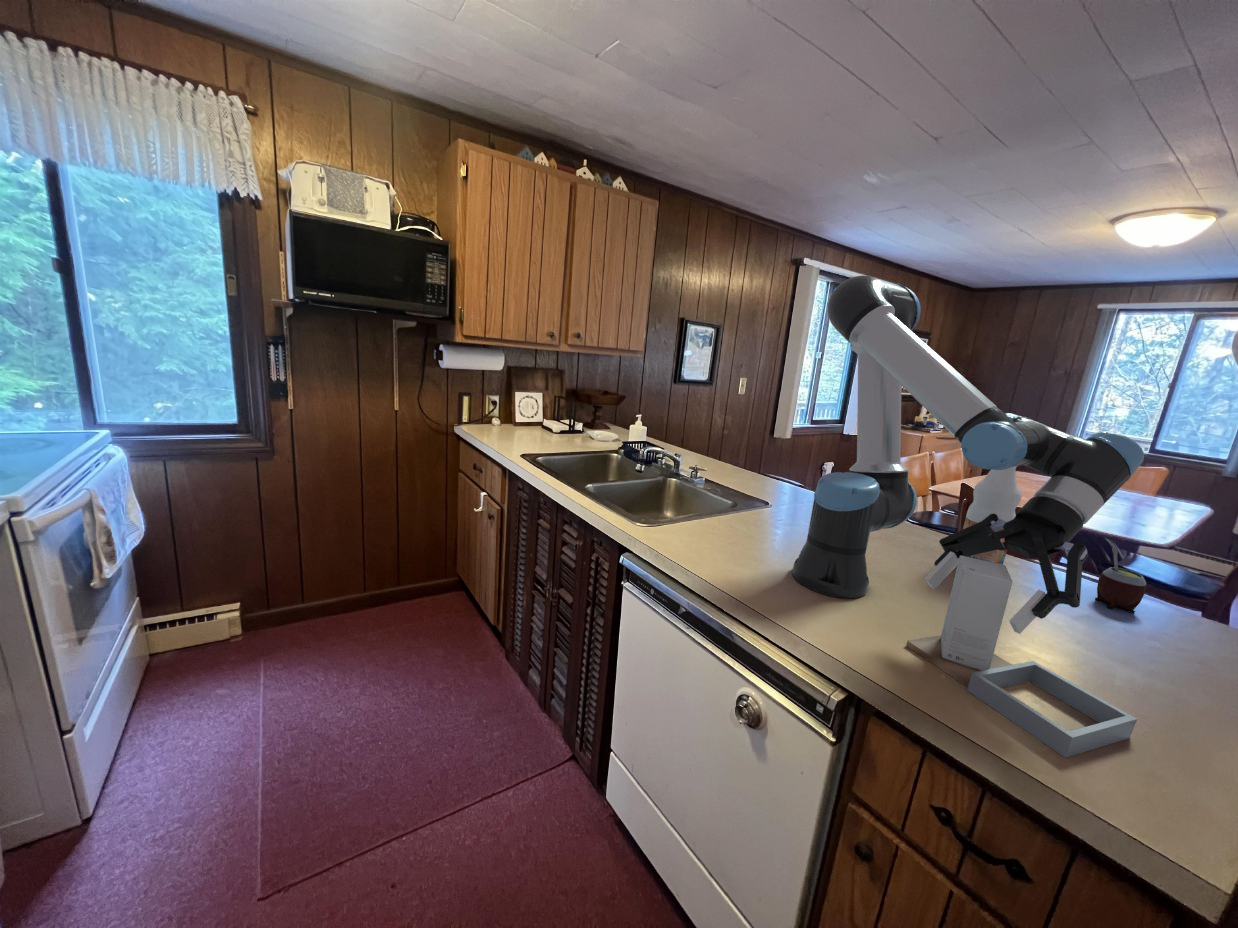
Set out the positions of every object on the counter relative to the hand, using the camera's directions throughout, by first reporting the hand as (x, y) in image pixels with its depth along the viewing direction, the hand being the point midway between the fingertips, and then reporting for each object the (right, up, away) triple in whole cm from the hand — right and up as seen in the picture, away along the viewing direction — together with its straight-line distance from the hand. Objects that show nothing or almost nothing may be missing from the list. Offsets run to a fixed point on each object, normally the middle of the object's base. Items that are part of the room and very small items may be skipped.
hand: (968, 604), depth 77 cm
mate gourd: (+52, -9, +29) cm, 60 cm away
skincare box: (+1, -9, +3) cm, 10 cm away
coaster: (+1, -10, +3) cm, 11 cm away
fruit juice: (+34, -4, +44) cm, 55 cm away
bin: (+5, -13, -8) cm, 16 cm away
